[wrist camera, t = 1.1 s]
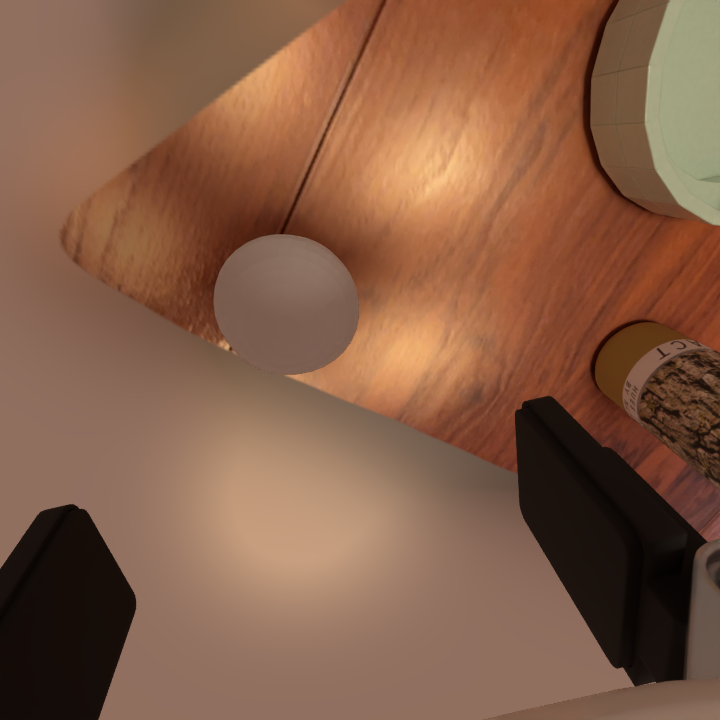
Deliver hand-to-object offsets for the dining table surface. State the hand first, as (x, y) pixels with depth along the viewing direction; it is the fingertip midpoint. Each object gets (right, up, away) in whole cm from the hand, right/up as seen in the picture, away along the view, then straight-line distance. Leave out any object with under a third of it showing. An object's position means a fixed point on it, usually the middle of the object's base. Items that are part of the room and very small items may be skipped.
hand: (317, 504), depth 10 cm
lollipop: (-4, +10, +21) cm, 24 cm away
